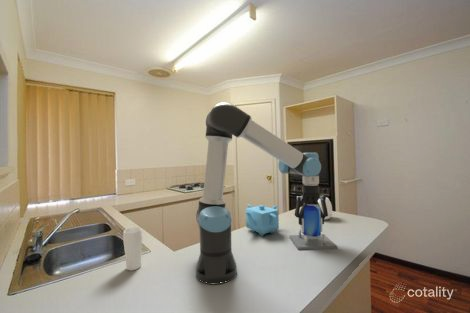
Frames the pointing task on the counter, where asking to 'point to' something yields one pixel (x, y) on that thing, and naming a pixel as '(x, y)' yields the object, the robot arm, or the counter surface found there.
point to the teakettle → (262, 219)
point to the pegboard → (311, 242)
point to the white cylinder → (133, 247)
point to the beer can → (312, 221)
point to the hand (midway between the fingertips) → (311, 230)
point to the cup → (329, 207)
